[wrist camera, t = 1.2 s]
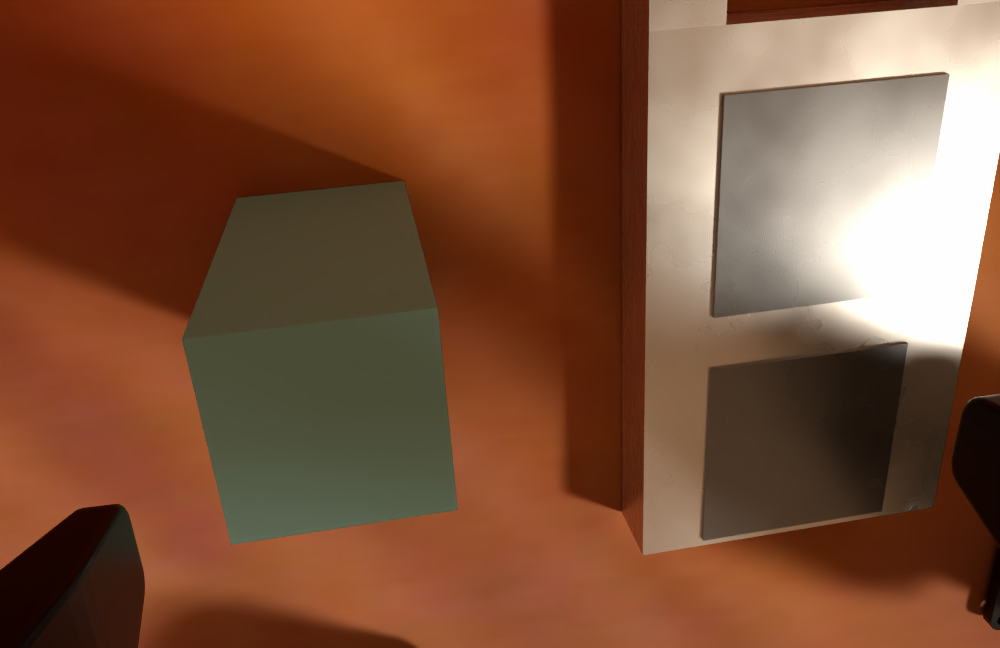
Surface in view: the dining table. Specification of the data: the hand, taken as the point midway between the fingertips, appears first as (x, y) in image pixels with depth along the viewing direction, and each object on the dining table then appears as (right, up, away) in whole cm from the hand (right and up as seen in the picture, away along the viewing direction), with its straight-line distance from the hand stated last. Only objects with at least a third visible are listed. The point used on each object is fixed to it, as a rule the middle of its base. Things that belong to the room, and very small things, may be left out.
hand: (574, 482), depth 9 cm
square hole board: (+7, +7, +13) cm, 16 cm away
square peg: (-5, +3, +13) cm, 14 cm away
